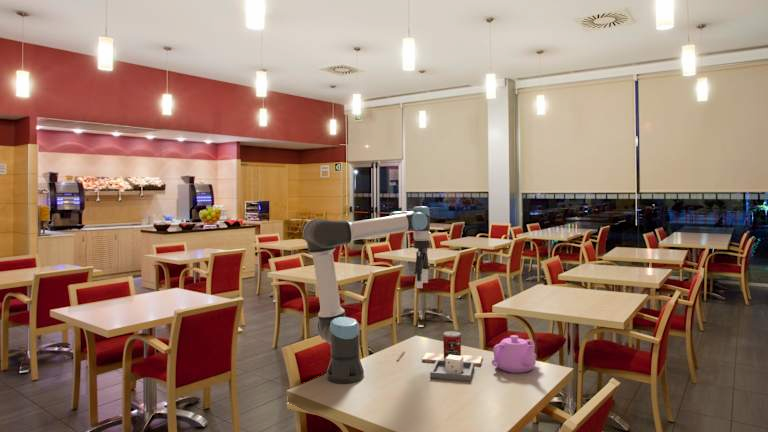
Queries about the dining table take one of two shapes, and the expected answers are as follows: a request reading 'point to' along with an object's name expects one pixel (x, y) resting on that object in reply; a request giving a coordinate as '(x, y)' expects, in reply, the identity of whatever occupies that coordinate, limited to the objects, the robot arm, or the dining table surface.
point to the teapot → (514, 355)
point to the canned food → (452, 343)
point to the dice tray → (439, 373)
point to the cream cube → (454, 364)
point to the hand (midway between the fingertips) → (422, 285)
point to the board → (437, 356)
